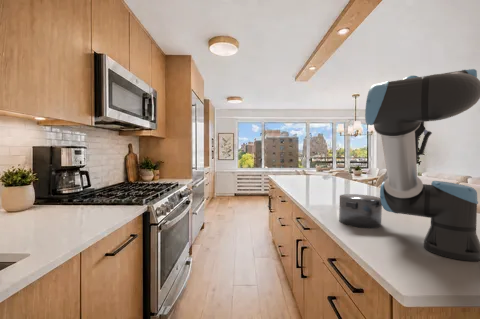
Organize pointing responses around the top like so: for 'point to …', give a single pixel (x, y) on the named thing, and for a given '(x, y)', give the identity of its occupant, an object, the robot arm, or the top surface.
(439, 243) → the robot arm
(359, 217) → the cooker pot
